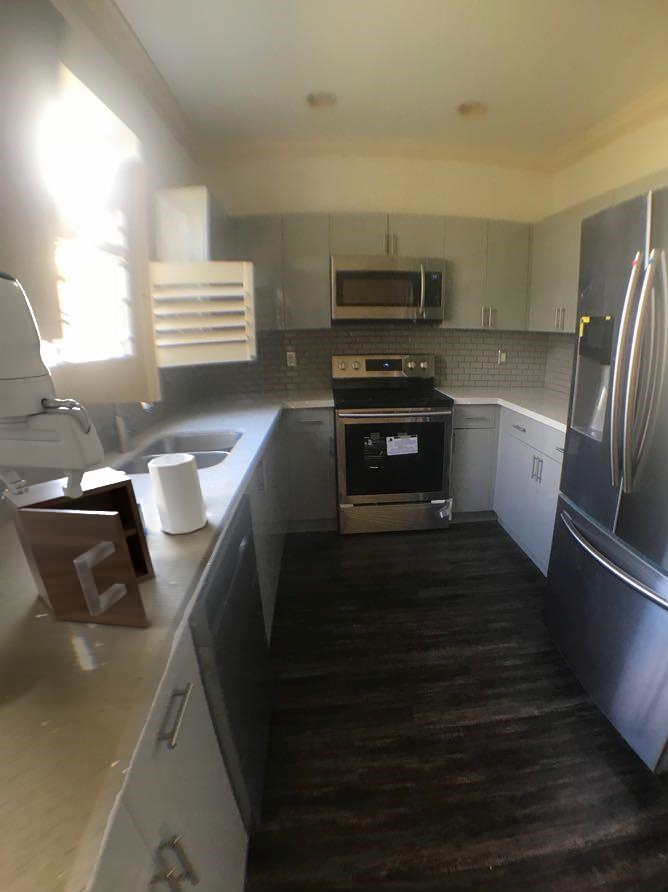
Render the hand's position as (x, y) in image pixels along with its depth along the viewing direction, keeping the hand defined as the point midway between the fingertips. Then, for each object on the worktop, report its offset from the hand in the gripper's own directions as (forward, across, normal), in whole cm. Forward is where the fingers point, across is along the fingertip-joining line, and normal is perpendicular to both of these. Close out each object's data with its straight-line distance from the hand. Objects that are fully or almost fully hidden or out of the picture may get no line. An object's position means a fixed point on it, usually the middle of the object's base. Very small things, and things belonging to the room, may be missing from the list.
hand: (46, 495), depth 66 cm
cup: (+28, +15, -48) cm, 57 cm away
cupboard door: (+28, +5, -4) cm, 29 cm away
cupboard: (+28, +16, -18) cm, 37 cm away
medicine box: (+28, +26, -40) cm, 56 cm away
